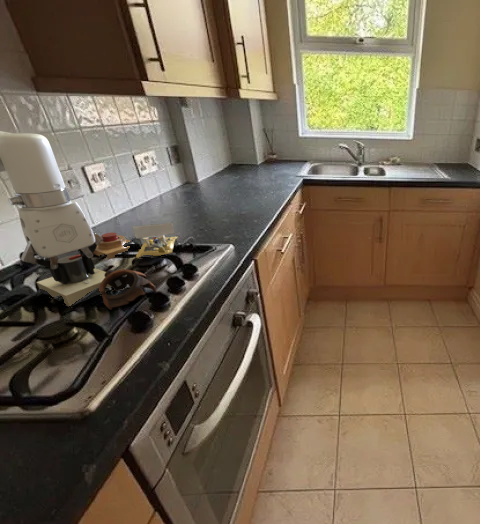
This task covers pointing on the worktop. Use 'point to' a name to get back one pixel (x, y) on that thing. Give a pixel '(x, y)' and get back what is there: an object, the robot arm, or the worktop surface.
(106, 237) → the button
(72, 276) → the dial
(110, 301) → the pottery mug
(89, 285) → the panel
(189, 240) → the worktop surface
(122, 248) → the button block
